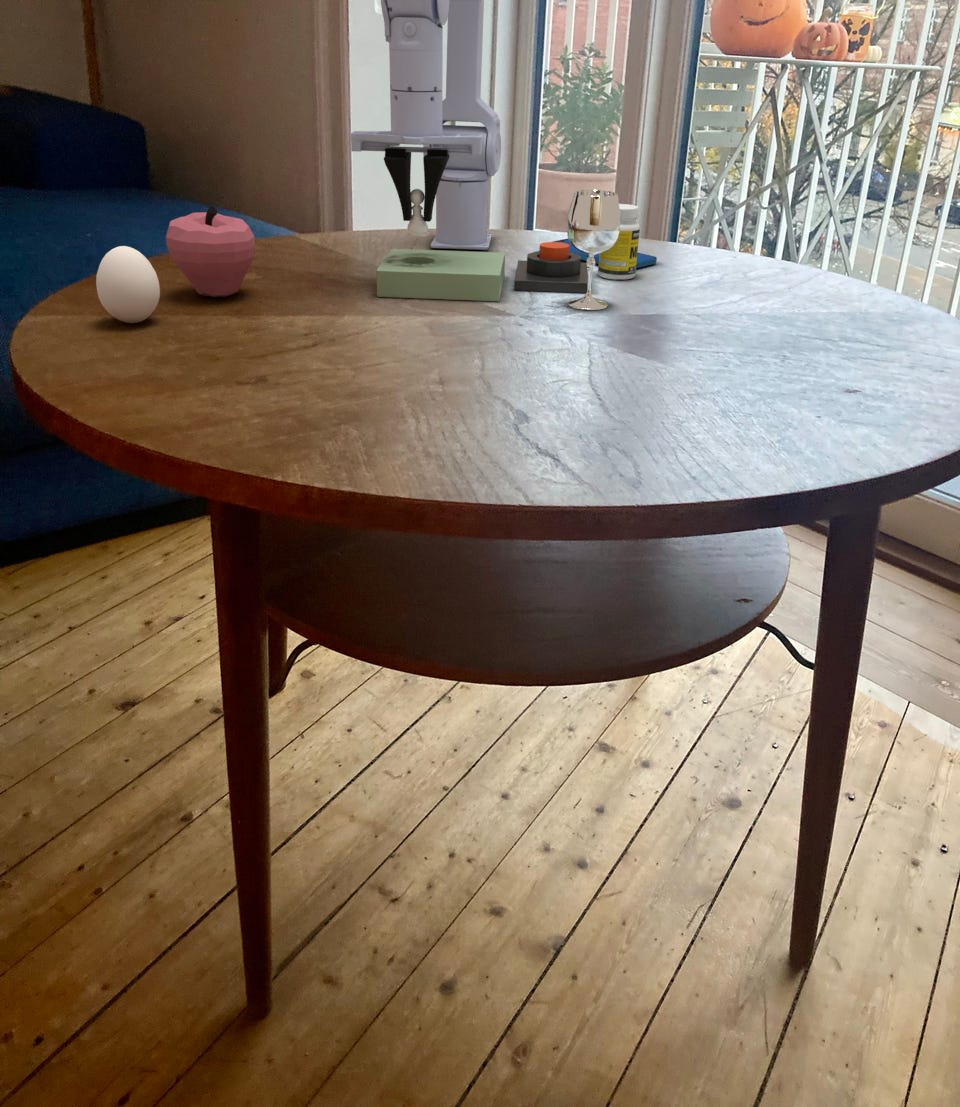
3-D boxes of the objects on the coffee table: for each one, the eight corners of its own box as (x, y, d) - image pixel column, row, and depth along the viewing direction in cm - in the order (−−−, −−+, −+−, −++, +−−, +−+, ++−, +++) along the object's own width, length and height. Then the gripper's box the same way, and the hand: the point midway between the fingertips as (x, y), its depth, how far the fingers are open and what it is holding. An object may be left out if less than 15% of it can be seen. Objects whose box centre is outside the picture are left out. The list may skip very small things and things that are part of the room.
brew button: (539, 255, 122) (540, 241, 121) (568, 257, 122) (569, 242, 121) (538, 262, 119) (539, 247, 118) (568, 263, 119) (569, 248, 118)
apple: (273, 291, 114) (266, 201, 109) (228, 309, 107) (218, 212, 102) (205, 282, 117) (195, 193, 113) (157, 298, 110) (144, 204, 106)
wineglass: (579, 313, 108) (587, 198, 103) (552, 301, 113) (558, 190, 107) (623, 308, 111) (633, 195, 105) (594, 296, 115) (603, 187, 109)
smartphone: (626, 265, 126) (538, 244, 135) (625, 273, 127) (538, 251, 136) (660, 257, 131) (572, 237, 140) (659, 264, 131) (572, 244, 140)
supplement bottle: (633, 281, 122) (640, 210, 118) (595, 279, 123) (601, 208, 119) (636, 273, 126) (643, 204, 122) (599, 270, 127) (604, 202, 123)
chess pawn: (432, 236, 114) (433, 190, 112) (408, 236, 114) (409, 190, 111) (426, 231, 117) (427, 186, 114) (402, 231, 116) (403, 186, 114)
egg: (128, 333, 98) (116, 255, 95) (89, 323, 101) (76, 247, 98) (176, 320, 103) (167, 245, 99) (138, 311, 106) (127, 237, 102)
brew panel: (517, 269, 127) (518, 245, 125) (588, 272, 126) (590, 248, 125) (514, 290, 117) (515, 264, 116) (590, 293, 117) (592, 267, 115)
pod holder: (392, 273, 123) (391, 248, 122) (504, 277, 123) (505, 252, 121) (376, 297, 113) (376, 270, 112) (499, 301, 112) (499, 274, 111)
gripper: (343, 90, 105) (349, 223, 111) (480, 94, 104) (477, 228, 111) (355, 86, 111) (360, 213, 117) (484, 90, 110) (481, 217, 117)
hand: (417, 219), depth 114 cm, fingers closed on chess pawn, 2 cm apart
